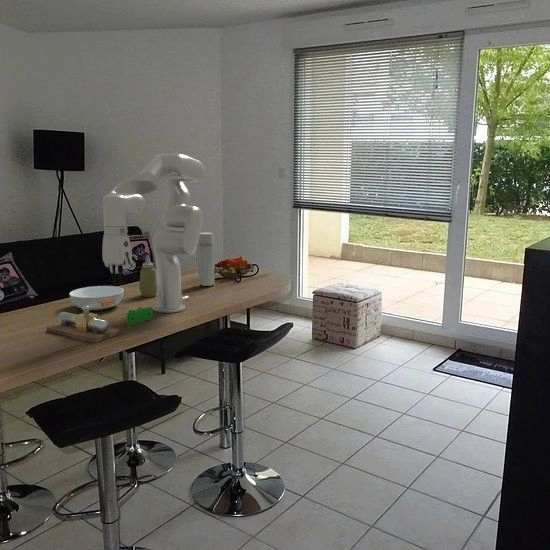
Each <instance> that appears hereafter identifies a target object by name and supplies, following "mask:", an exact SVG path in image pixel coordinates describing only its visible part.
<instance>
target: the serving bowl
mask: <svg viewBox="0 0 550 550" xmlns="http://www.w3.org/2000/svg"><path fill="white" fill-rule="evenodd" d="M124 291H125V290H124V288H123V287H120V286H116V285H97V286H96V285H95V286H86V287H82V288H81V287H80V288H77V289H73V290H72V291H70V292H69V294H68V295H69V299H70V301H71V303H72V304H73V305H74V306H76V307H77V308H78V309H82V306H85V305H92V304H96V303H98V302H99V301H103V300H107V299H115V303H116V304H113V305H109V306H105V307H97V308H93V309H90V310H89V311H103V309H104V310H107V309H110V308H112V307H115V306H116V305H118V304H120V302H121V300H122V299H123V297H124Z"/></svg>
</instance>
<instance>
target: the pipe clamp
mask: <svg viewBox="0 0 550 550" xmlns="http://www.w3.org/2000/svg"><path fill="white" fill-rule="evenodd" d="M126 314H127V315H126V316H127V325H128V326H132V325H136V324H138V323H142V322H145V321H149V320H152V318H154V317H153V307H151V306H148V307H146V308H143V307H138V308H137V309H134V310H133V309H129V310H128V312H127V313H126Z"/></svg>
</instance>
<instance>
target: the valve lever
mask: <svg viewBox="0 0 550 550" xmlns="http://www.w3.org/2000/svg"><path fill="white" fill-rule="evenodd" d="M113 304H116V303H115V299H107V300H103V301H99V302H98V303H96V304H92V305H85V306H82V308H81V311H82V312H83V313H84V315H88V314H89V313H90V311H91V310H90V309H93V308H97V307H105V306H109V305H113ZM116 305H117V304H116Z"/></svg>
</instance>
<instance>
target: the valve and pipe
mask: <svg viewBox="0 0 550 550" xmlns="http://www.w3.org/2000/svg"><path fill="white" fill-rule="evenodd" d="M57 320H58V321H59V322H60V323H61V326H65V327H66V326H70V325H76V330H79V331H83V332H89V331H92V333H94V334H99V333H102V332H106V331H107V330H108V329H109V327H110V323H109V321H107V320H103V319H99V315H98V314H97V313H93V312H89V314H88V315H84V312H82V313H79V314H76V313H71V312H66V311H60V312H59V313H58V316H57Z"/></svg>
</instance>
